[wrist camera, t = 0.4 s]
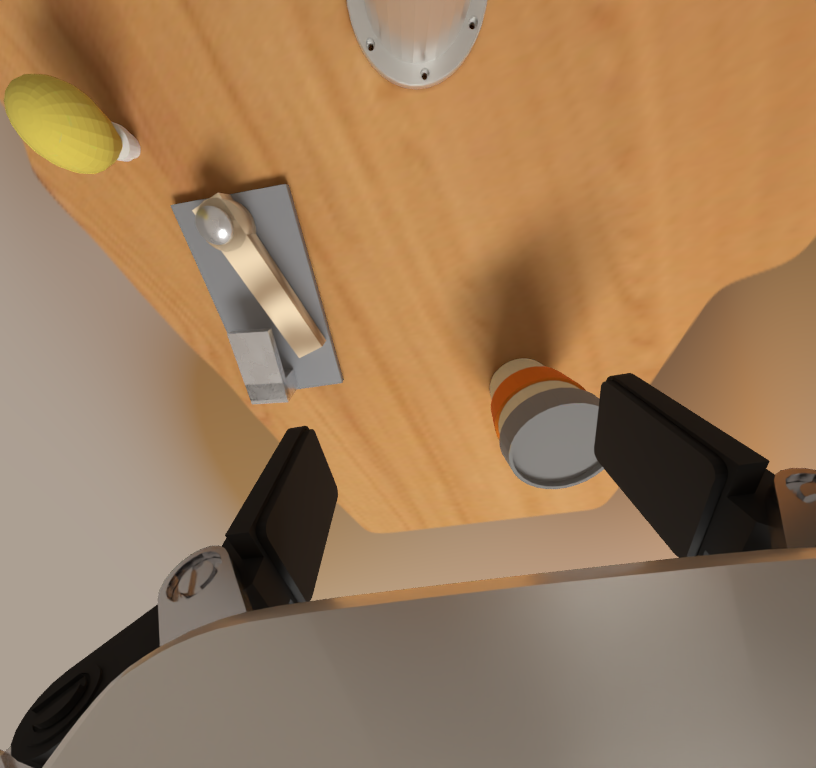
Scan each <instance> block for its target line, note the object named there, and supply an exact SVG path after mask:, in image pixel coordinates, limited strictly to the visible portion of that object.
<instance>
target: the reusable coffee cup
mask: <svg viewBox="0 0 816 768" xmlns="http://www.w3.org/2000/svg"><path fill="white" fill-rule="evenodd" d="M490 395H491V399H492V402H491V412H492V417H493V422H494V426H495V431H496V434H497V437H498V439H499V441H500V448H501V451H502V454H503V456H504V457H505V459H506V461H507V462H508V464H509V466H510V467H511V469H512V470H513V472H514V474H515V475H516V476H517V477H518V478H519V479H520V480H521V481H523V482H525V483H527V484H528V485H531V486H534V487H537V488H543V489H560V488H567V487H570V486H574V485H577V484H580V483H582V482H585V481H587V480H589V479H590V478H592V477H594V476H595V475H597V474H598V473H599V472H601V471H602V470H603V469H604V468H603V467H602V466H601V464H600V463H599V462H598V461H597V459H596V457H595V454H594V444H595V435H596V426H597V418H598V409H599V400H600V399H599V398H597V397H596V396H595V395H593V394H592V393H590V392H587V391H586V390H585V389H584V388H583V387H582V386H581V385H579V384H578V383H577V382H575V381H573V380H572V379H570V378H569V377H567V376H565V375H564V374H562V373H561V372H559V371H557V370H555V369H553V368H549V367H545V366H544V365H542V364H541V363H539V362H538V361H535V360H533V359H528V358H520V359H515V360H512V361H509V362H507V363H506V364H504V365H503V366H501V367H500V368H499V369H498V370H497V371H496V372H495V374H494V375H493V377H492V379H491V382H490Z"/></svg>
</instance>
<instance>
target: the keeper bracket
mask: <svg viewBox="0 0 816 768" xmlns="http://www.w3.org/2000/svg"><path fill="white" fill-rule="evenodd" d="M227 335H228V338H229V341H230V344H231V346H232V349H233V352H234V355H235V358H236V361H237V363H238V366H239V369H240V372H241V375H242V377H243V380H244V383H245V386H246V389H247V391H248V394H249V397H250V400H251V403H252V404H265V403H282V402H289V400H290V399H291V397H292V396H293V394H294V393H295V391H296V390H297V388H298V384H297V380H296V376H295V372H294V369H283V367H282V363H281V360H280V356H279V353H278V349H277V346H276V342H275V338H274V335H273V331H272V328H270V329H255V330H239V331H231V332H230V333H228V334H227Z"/></svg>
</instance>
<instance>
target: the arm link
mask: <svg viewBox="0 0 816 768" xmlns="http://www.w3.org/2000/svg"><path fill="white" fill-rule="evenodd" d="M203 206H215V207H218V208H220V209H222V210H223V211H224V212H225V213H227V215H228V216H229V217H230V219H231V221H232V223H233V227H234V234H233V237H232V239H231V240H230V241H229V242H228V243H226V244H222V245H215V244H212V243H210V242H208V241H207V242H208V243H209V244H210V245H211V246H213V247H214V248H216V249H218V250H221V251H222V253H223V254H224V255H225V257H226V258H227V259H228V261H229V262H230V264H231V265H232V266H233V268H234V269H235V270H236V272H237V273H238V275H239V276H240V277H241V279H242V280H243V281H244V283H245V284H246V286H247V287H248V288H249V290H250V291H251V292H252V294H253V295H254V297H255V298H256V299H257V301H258V302H259V303H260V305H261V306H262V308H263V309H264V310H265V312H266V313H267V315H268V316H269V317H270V319H271V320H272V321H273V323H274V324H275V326H276V327H277V328H278V330H279V331H280V332H281V334H282V335H283V337H284V338H285V339H286V341H287V342H288V343H289V345H290V346H291V348H292V349H293V350H294V352H295V353H296V354H297V356H298V357H299V358H301V357H303V356H305V355H307V354H309V353H311V352H313V351H315V350H317V349H319V348H321V347H322V346H323V345H324V343H325V342H326V339H325V338H324V336H323V335H322V333H321V332H320V330H319V329H318V327H317V326H316V324H315V323H314V321H313V320H312V318H311V317H310V315H309V314H308V312H307V310H306V309H305V307H304V306H303V304H302V303H301V301H300V300H299V298H298V297H297V295H296V294H295V292H294V291H293V289H292V288H291V286H290V285H289V283H288V282H287V280H286V279H285V277H284V276H283V274H282V273H281V271H280V270H279V268H278V267H277V265H276V264H275V262H274V261H273V259H272V258H271V256H270V254H269V253H268V251H267V250H266V248H265V247H264V245H263V244H262V242H261V241H260V239H259V238H258V236H257V235H256V226H255V222H254V219H253V217H252V215H251V214H250V212H249V211H248V210H247V209H246V208H245V207H244V206H243V205H242V204H240V203H238V202H236V201H234V200H233V199H232V197H231V195H230V194H224V193H217V194H215V195H214V196H212V197H211V198H209V199H206V200H204V201H203V202H202V203H201V204H200V205H199V206H198V207H196V208H195V209H193V210H192V211H193V213H194V214H195V215H196V213H197V211H198V210H199V209H200V208H201V207H203Z"/></svg>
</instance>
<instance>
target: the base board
mask: <svg viewBox="0 0 816 768" xmlns="http://www.w3.org/2000/svg"><path fill="white" fill-rule="evenodd" d="M230 195H231V197H232V199H233V200H234V201H236V202H238V203H240V204H242V205H243V206H244V207H245V208H246V209H247V210H248V211H249V212H250V214H251V215H252V217H253V219H254V222H255V226H256V235H257V236H258V238H259V239H260V241H261V242H262V244H263V245H264V247H265V248H266V250H267V251H268V253H269V254H270V256H271V258H272V259H273V261H274V262H275V264H276V265H277V267H278V268H279V270H280V271H281V273H282V274H283V276H284V277H285V279H286V280H287V282H288V283H289V285H290V286H291V288H292V289H293V291H294V292H295V294H296V295H297V297H298V298H299V300H300V301H301V303H302V304H303V306H304V307H305V309H306V310H307V312H308V314H309V315H310V317H311V318H312V320H313V321H314V323H315V324H316V326H317V327H318V329H319V330H320V332H321V333H322V335H323V336H324V338H325V339H326V342H325V343H324V345H323V346H322V347H321V348H319V349H317V350H315V351H313V352H311V353H309V354H307V355H305V356H303V357H301V358H299V357H298V356H297V354H296V353H295V352H294V350H293V349H292V348H291V346H290V345H289V343H288V342H287V341H286V339H285V338H284V337H283V335H282V334H281V332H280V331H279V330H278V328H277V327H276V326H275V324H274V323H273V321H272V320H271V319H270V317H269V316H268V315H267V313H266V312H265V310H264V309H263V308H262V306H261V305H260V303H259V302H258V301H257V299H256V298H255V297H254V295H253V294H252V292H251V291H250V290H249V288H248V287H247V286H246V284H245V283H244V281H243V280H242V279H241V277H240V276H239V275H238V273H237V272H236V270H235V269H234V268H233V266H232V265H231V264H230V262H229V261H228V259H227V258H226V257H225V255H224V254H223V253H222V251H221V250H218V249H216V248H214V247H213V246H211V245H210V244H209V243H208V242H207V241H206V240H205V239H204V238H203V237H202V236H201V235H200V233H199V232H198V230H197V227H196V224H195V216H196V215H195V214H194V213H193V211H192V210H193V209H195V208H196V207H198V206H199V205H200V204H201V203H202V202H203V201H204V200H206V199H202V200H196V201H191V202H185V203H180V204H174V205H171V208H172V210H173V212H174V214H175V217H176V219H177V221H178V223H179V226H180V228H181V230H182V232H183V234H184V237H185V239H186V241H187V243H188V246H189V248H190V250H191V252H192V255H193V257H194V259H195V261H196V264H197V266H198V268H199V270H200V273H201V275H202V277H203V279H204V281H205V284H206V286H207V288H208V290H209V293H210V295H211V297H212V299H213V302H214V304H215V306H216V308H217V311H218V313H219V315H220V317H221V320H222V322H223V324H224V326H225V328H226V331H227V333H230V332H231V331H239V330H255V329H270V328H272V331H273V335H274V338H275V342H276V346H277V349H278V353H279V356H280V360H281V363H282V367H283V369H294V372H295V376H296V380H297V384H298V388H297V389H302V388H309V387H316V386H323V385H331V384H338V383H343V380H344V379H343V376H342V372H341V369H340V365H339V362H338V358H337V355H336V351H335V348H334V344H333V340H332V337H331V333H330V330H329V326H328V323H327V319H326V316H325V312H324V309H323V305H322V301H321V298H320V294H319V291H318V287H317V284H316V280H315V277H314V273H313V270H312V266H311V262H310V259H309V255H308V252H307V248H306V245H305V241H304V238H303V234H302V231H301V227H300V223H299V220H298V216H297V213H296V209H295V206H294V202H293V199H292V195H291V192H290V188H289V185H287V184H283V185H277V186H272V187H266V188H261V189H256V190H250V191H245V192H239V193H234V194H230ZM207 199H209V198H207Z"/></svg>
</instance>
